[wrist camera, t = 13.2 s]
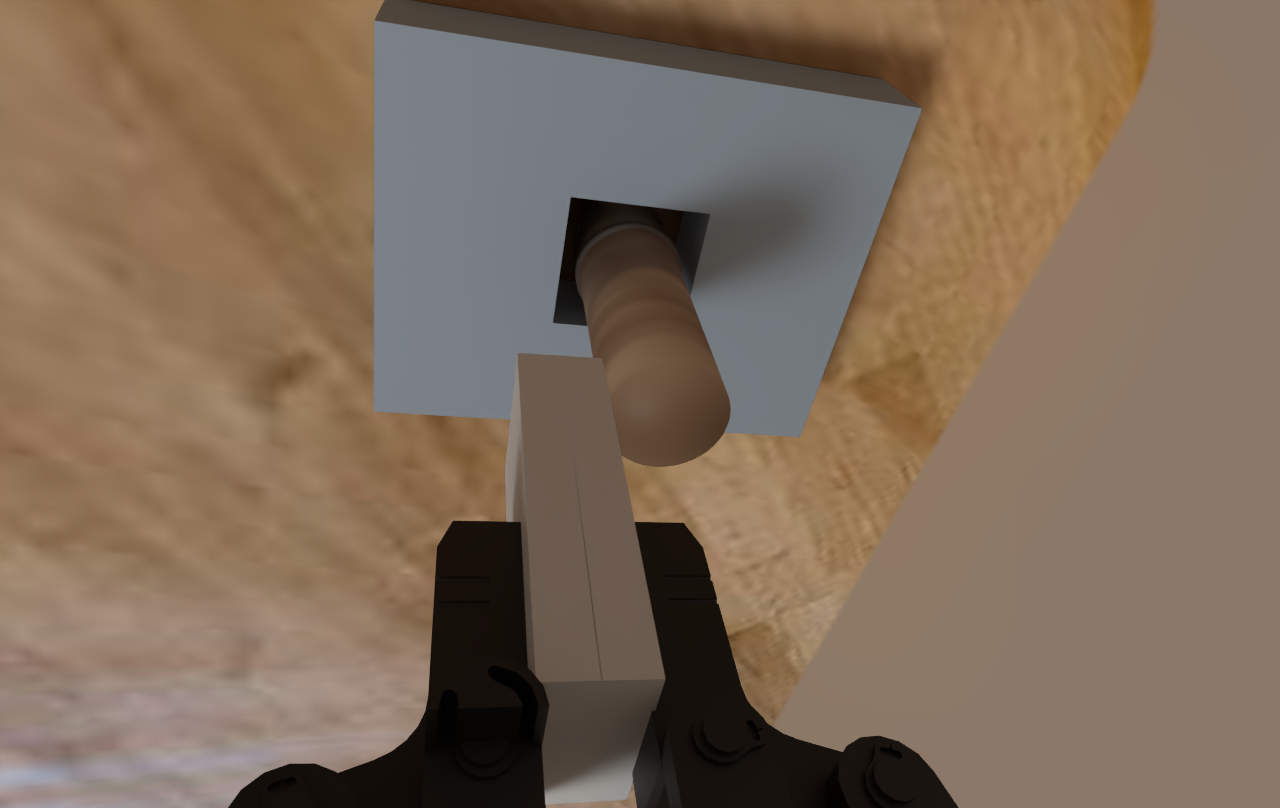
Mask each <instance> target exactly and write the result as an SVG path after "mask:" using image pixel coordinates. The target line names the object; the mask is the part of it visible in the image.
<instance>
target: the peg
mask: <svg viewBox="0 0 1280 808" xmlns="http://www.w3.org/2000/svg"><path fill="white" fill-rule="evenodd" d="M574 250H575V256H576V266H575V278H576V284H577V288H578V291H579V294H580V296H581V298H582V300H583V303H584V308H585V314H586V320H587V326H588V332H589V338H590V344H591V349H592V355H593V358H602V359H603V364H604V369H605V375H606V380H607V385H608V390H609V395H610V400H611V405H612V410H613V415H614V420H615V425H616V430H617V435H618V441H619V446H620V451H621V455H622V456H624V457H625V458H627V459H629V460H631V461H633V462H636V463H639V464H642V465H647V466H655V467H665V466H673V465H678V464H682V463H685V462H688V461H690V460H693V459H695V458H697V457H699V456H700V455H702V454H704V453H705V452H707V451H708V450H709V449H710V448H711V447H713V446H714V445H715V444H716V443H717V441H718V440H719V439H720V438H721V436H722V435H723V433H724V432H725V430H726V428H727V425H728V423H729V419H730V412H731V406H730V400H729V396H728V393H727V391H726V388H725V386H724V383H723V380H722V378H721V375H720V373H719V370H718V367H717V365H716V362H715V359H714V357H713V354H712V352H711V349H710V346H709V344H708V341H707V339H706V336H705V333H704V331H703V328H702V326H701V323H700V320H699V318H698V315H697V313H696V310H695V307H694V305H693V302H692V299H691V297H690V294H689V292H688V289H687V286H686V284H685V281H684V279H683V276H682V268H681V262H680V258H679V255H678V253H677V250H676V248H675V246H674V244H673V243H672V241H671V240H670V238H669V237H668V236H667V234H666V232H665V229H664V226H663V224H662V222H661V220H660V219H659V217H658V216H657V215H656V214H655V212H653V211H652V210H651V209H650V208H648V207H647V206H640V205H632V204H624V203H615V202H607V201H599V200H594V201H593V202H591V203H590V204H589V205H588V206H587V207H586V209H585V210H584V212H583V214H582V215H581V218H580V221H579V226H578V228H577V231H576V234H575V239H574Z"/></svg>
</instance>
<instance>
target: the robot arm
mask: <svg viewBox="0 0 1280 808" xmlns="http://www.w3.org/2000/svg"><path fill="white" fill-rule="evenodd" d="M505 483H506V516H507V522H493V521H453V522H452V523H451V525H450V527H449V528H448V530H447V532H446V533H445V535H444V536H443V538H442V540H441V541H440V543H439V545H438V546H437V558H436V575H435V592H434V609H433V626H432V643H431V660H430V677H429V694H428V701H427V706H426V711H425V713H424V715H423V717H422V719H421V721H420V723H419V725H418V727H417V728H416V729H415V731H414V732H413V733H412V734H411V735H410V737H409V738H408V739H407V740H406V741H405V742H403V743H402V744H401V745H400V746H398V747H397V748H396V749H394V750H393V751H392V752H390V753H388V754H386V755H384V756H381V757H379V758H377V759H375V760H373V761H370V762H367V763H365V764H362V765H359V766H356V767H353V768H351V769H348V770H345V771H342V772H340V773H337V772H335V771H332V770H330V769H327V768H325V767H322V766H320V765H317V764H288V765H285V766H282V767H279V768H276V769H274V770H271V771H268V772H265V773H263V774H262V775H260V776H259V777H258V778H256V779H255V780H254V781H252V782H251V783H250V784H248V785H247V786H246V787H244V788H243V789H241V791H240V792H239V793H238V795H237V796H236V798H235V799H234V800H233V802H232V803H231V804H230V806H229V807H228V808H546V806H545V804H561V803H578V802H595V801H612V800H627V798H628V795H629V791H630V788H631V785H632V782H633V783H634V789H635V796H636V803H637V808H958V806H957V805H956V803H955V802H954V801H953V799H952V798H951V796H950V795H949V793H948V792H947V790H946V789H945V787H944V786H943V784H942V783H941V781H940V780H939V778H938V777H937V775H936V774H935V772H934V771H933V770H932V769H931V768H930V767H929V766H928V764H927V763H926V762H925V761H924V760H923V759H922V758H921V757H920V755H919V754H918V753H916V752H914V751H913V750H911V749H910V748H908V747H907V746H905V745H903V744H902V743H900V742H899V741H895V740H892V739H888V738H885V737H881V736H871V737H861V738H859V739H857V740H856V741H854V742H853V743H851V744H849V745H848V746H847V747H846V748H845V750H844V751H843V752H840V751H837V750H833V749H830V748H826V747H823V746H819V745H816V744H812V743H809V742H805V741H802V740H798V739H795V738H793V737H790V736H788V735H785V734H783V733H781V732H780V731H778V730H777V729H775V728H773V727H772V726H770V725H769V724H767V723H766V722H765V720H764V718H763V717H762V716H761V715H760V714H759V713H758V712H757V711H756V710H755V709H754V708H753V707H752V706H751V705H750V703H749V702H748V700H747V699H746V696H745V694H744V691H743V689H742V687H741V683H740V680H739V676H738V673H737V669H736V665H735V662H734V658H733V655H732V651H731V647H730V644H729V640H728V637H727V633H726V629H725V626H724V622H723V618H722V615H721V611H720V608H719V604H717V597H716V593H715V590H714V586H713V582H712V581H711V580H710V576H711V575H710V572H709V568H708V564H707V561H706V557H705V554H704V550H703V547H702V546H701V545H700V543H699V542H698V541H697V540H696V538H695V537H694V536H693V534H692V533H691V532H690V531H689V529H688V528H687V527H686V526H685V524H684V523H660V522H634V517H633V512H632V507H631V501H630V496H629V491H628V486H627V481H626V476H625V471H624V466H623V461H622V456H621V451H620V446H619V441H618V435H617V430H616V425H615V420H614V415H613V410H612V405H611V400H610V395H609V390H608V385H607V380H606V375H605V369H604V364H603V359H602V358H590V357H574V356H558V355H542V354H526V353H517V361H516V371H515V380H514V390H513V400H512V409H511V419H510V428H509V438H508V447H507V457H506V466H505Z"/></svg>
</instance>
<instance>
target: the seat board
mask: <svg viewBox="0 0 1280 808" xmlns="http://www.w3.org/2000/svg"><path fill="white" fill-rule="evenodd" d="M921 110H922V108H921V107H920V106H918V105H917V104H916V103H914V102H913V101H912V100H910V99H909V98H908V97H906V96H905V95H904V94H902V93H901V92H899V91H898V90H897V89H895V88H894V87H893V86H891V85H890V84H889V83H887V82H886V81H885V80H883V79H879V78H873V77H867V76H861V75H855V74H849V73H843V72H837V71H831V70H825V69H819V68H813V67H807V66H801V65H795V64H789V63H783V62H777V61H771V60H765V59H759V58H753V57H747V56H741V55H735V54H729V53H723V52H717V51H711V50H705V49H699V48H693V47H687V46H681V45H675V44H669V43H663V42H657V41H651V40H645V39H639V38H633V37H627V36H621V35H615V34H610V33H604V32H598V31H592V30H586V29H580V28H574V27H568V26H562V25H556V24H550V23H544V22H538V21H532V20H526V19H520V18H514V17H508V16H502V15H496V14H490V13H484V12H478V11H472V10H466V9H460V8H454V7H448V6H442V5H436V4H430V3H424V2H418V1H412V0H384V2H383V4H382V6H381V8H380V10H379V12H378V14H377V16H376V18H375V20H374V411H376V412H393V413H409V414H426V415H442V416H459V417H476V418H492V419H509V420H510V419H511V409H512V400H513V390H514V380H515V371H516V361H517V353H526V354H542V355H558V356H574V357H590V358H593V355H592V349H591V344H590V338H589V332H588V326H587V320H586V314H585V308H584V303H583V300H582V298H581V296H580V294H579V291H578V288H577V284H576V281H568V280H559V276H560V269H561V262H562V255H563V248H564V241H565V234H566V227H567V220H568V213H569V206H570V199H571V197H574V198H582V199H591V200H599V201H607V202H615V203H624V204H632V205H640V206H648V207H657V208H665V209H673V210H681V211H683V215H682V220H681V224H680V229H679V233H678V238H677V242H676V246H675V248H676V250H677V253H678V255H679V258H680V262H681V268H682V276H683V279H684V281H685V284H686V286H687V289H688V292H689V294H690V297H691V299H692V302H693V305H694V307H695V310H696V313H697V315H698V318H699V320H700V323H701V326H702V328H703V331H704V333H705V336H706V339H707V341H708V344H709V346H710V349H711V352H712V354H713V357H714V359H715V362H716V365H717V367H718V370H719V373H720V375H721V378H722V380H723V383H724V386H725V388H726V391H727V393H728V396H729V400H730V406H731V412H730V419H729V423H728V425H727V428H726V430H725V432H726V433H742V434H759V435H775V436H792V437H800V436H801V433H802V430H803V427H804V425H805V422H806V419H807V417H808V414H809V411H810V409H811V406H812V403H813V401H814V398H815V395H816V393H817V390H818V387H819V384H820V382H821V379H822V376H823V374H824V371H825V368H826V366H827V363H828V360H829V358H830V355H831V352H832V350H833V347H834V344H835V341H836V339H837V336H838V333H839V331H840V328H841V325H842V323H843V320H844V317H845V315H846V312H847V309H848V307H849V304H850V301H851V298H852V296H853V293H854V290H855V288H856V285H857V282H858V280H859V277H860V274H861V272H862V269H863V266H864V264H865V261H866V258H867V255H868V253H869V250H870V247H871V245H872V242H873V239H874V237H875V234H876V231H877V229H878V226H879V223H880V221H881V218H882V215H883V212H884V210H885V207H886V204H887V202H888V199H889V196H890V194H891V191H892V188H893V186H894V183H895V180H896V178H897V175H898V172H899V169H900V167H901V164H902V161H903V159H904V156H905V153H906V151H907V148H908V145H909V143H910V140H911V137H912V135H913V132H914V129H915V126H916V124H917V121H918V118H919V116H920V113H921Z"/></svg>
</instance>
